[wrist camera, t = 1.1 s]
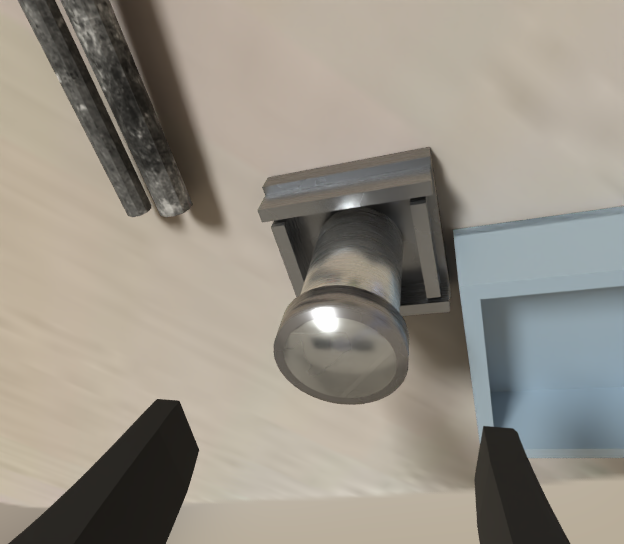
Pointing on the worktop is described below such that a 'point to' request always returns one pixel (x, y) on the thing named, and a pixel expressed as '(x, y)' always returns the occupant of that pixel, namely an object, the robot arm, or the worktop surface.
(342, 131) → the worktop surface
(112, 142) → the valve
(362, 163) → the plate
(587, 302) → the bin
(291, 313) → the metal capped cylinder
